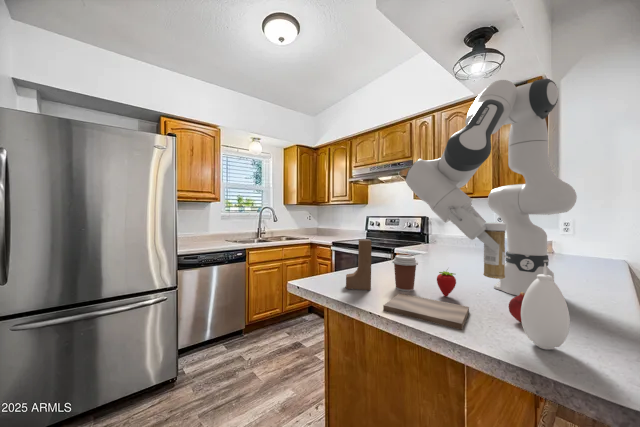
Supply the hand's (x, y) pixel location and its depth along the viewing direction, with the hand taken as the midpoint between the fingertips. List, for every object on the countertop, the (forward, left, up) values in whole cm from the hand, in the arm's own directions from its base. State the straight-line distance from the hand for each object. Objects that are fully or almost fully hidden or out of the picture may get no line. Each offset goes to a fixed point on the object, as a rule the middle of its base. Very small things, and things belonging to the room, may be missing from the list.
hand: (497, 247), depth 64 cm
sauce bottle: (+5, +9, -20) cm, 22 cm away
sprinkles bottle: (0, -1, -8) cm, 8 cm away
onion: (-8, +5, -20) cm, 22 cm away
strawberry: (-19, -15, -20) cm, 31 cm away
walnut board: (-1, -17, -20) cm, 26 cm away
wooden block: (-9, -43, -20) cm, 48 cm away
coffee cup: (-19, -29, -20) cm, 40 cm away
